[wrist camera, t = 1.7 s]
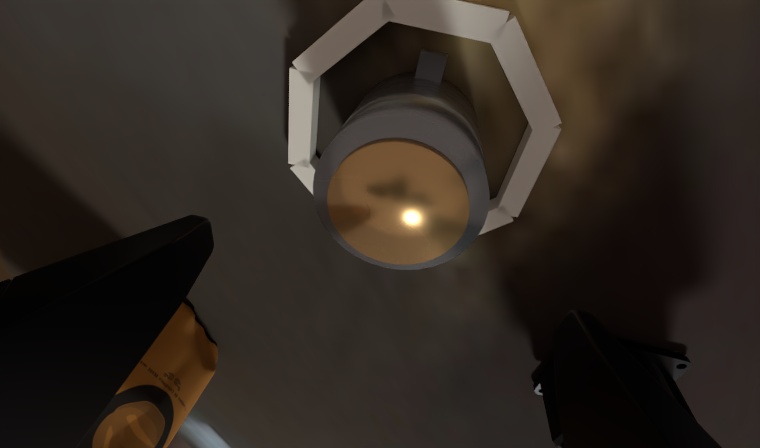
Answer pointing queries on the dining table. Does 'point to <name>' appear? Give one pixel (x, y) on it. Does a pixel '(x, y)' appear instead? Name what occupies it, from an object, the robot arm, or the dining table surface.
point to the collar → (446, 15)
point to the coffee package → (158, 389)
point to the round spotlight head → (406, 172)
